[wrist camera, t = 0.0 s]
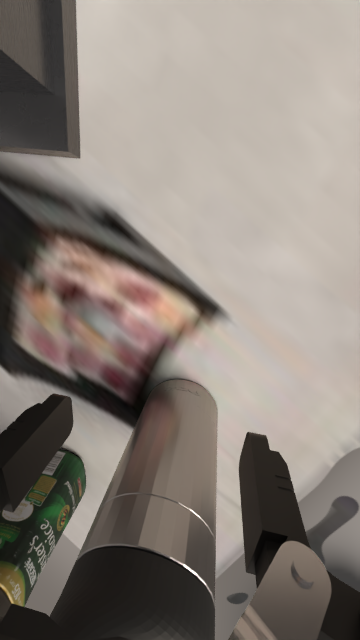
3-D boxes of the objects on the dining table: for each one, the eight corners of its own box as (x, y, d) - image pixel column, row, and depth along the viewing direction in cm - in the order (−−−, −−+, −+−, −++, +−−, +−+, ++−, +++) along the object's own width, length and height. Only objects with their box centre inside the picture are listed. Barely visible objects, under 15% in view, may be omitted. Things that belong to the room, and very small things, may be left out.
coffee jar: (90, 495, 40) (-8, 693, 23) (46, 485, 41) (-80, 669, 24) (87, 450, 37) (-31, 644, 19) (39, 441, 38) (-114, 617, 20)
